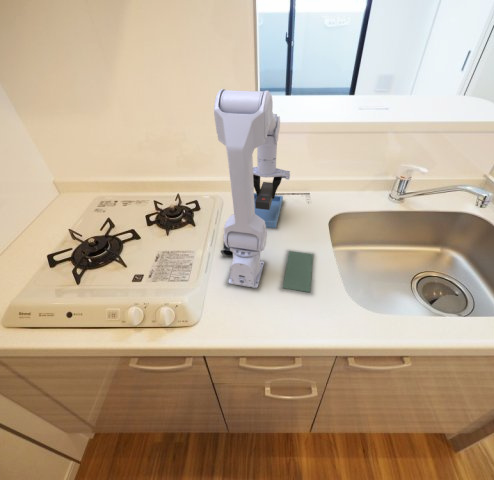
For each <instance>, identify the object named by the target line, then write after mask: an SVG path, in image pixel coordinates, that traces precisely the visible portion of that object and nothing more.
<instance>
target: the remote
mask: <svg viewBox="0 0 494 480" xmlns="http://www.w3.org/2000/svg"><path fill="white" fill-rule="evenodd" d="M272 193H273V183H272V182H271V181H269V182H268V181H263V182H262V184H261V185H260V191H259V194H258V196H257V199H256V201H255V207H256V209H265V210H269V209H270V206H271V203H272V200H273V199H272Z"/></svg>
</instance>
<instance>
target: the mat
mask: <svg viewBox="0 0 494 480" xmlns="http://www.w3.org/2000/svg"><path fill="white" fill-rule="evenodd" d="M313 259H314V254H313V253H308V252H307V253H306V252H299V251H293V250H289V251H288V256H287V260H286V261H287V263H286V269H285V274H284V279H283V285H282V289H285V290H293V291H298V292H304V293H311V287H312V272H313V271H312V270H313Z"/></svg>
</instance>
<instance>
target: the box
mask: <svg viewBox="0 0 494 480" xmlns="http://www.w3.org/2000/svg"><path fill="white" fill-rule="evenodd" d="M256 199H257V194H256V192H254V206H255V201H256ZM283 201H284V196H283V195H277V194H275V198H274V199H273V200H272V203H271V206H270V209H269V210H265V209H256V207H255V214H256V215H257V216H259V217H260V218H261V219H263V220H264V221H265V224H266V228H272V229H276V228H277V225H278V221H279V217H280V214H281V210H282V206H283Z"/></svg>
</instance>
